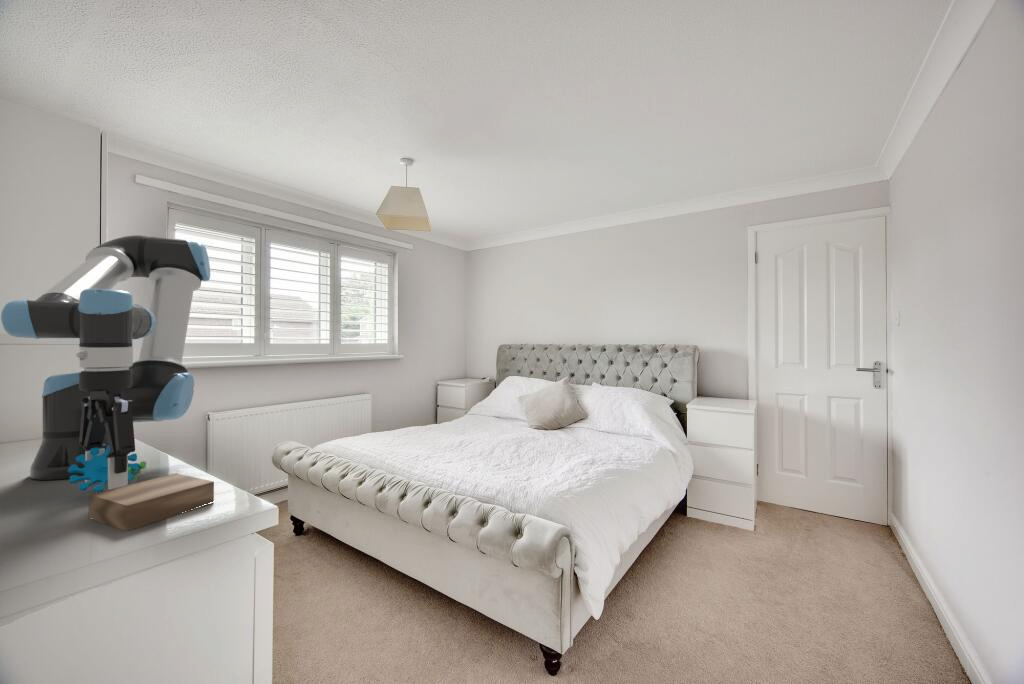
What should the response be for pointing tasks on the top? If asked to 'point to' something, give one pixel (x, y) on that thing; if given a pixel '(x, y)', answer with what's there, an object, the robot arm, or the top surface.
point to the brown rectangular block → (149, 500)
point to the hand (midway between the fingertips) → (106, 485)
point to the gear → (100, 469)
